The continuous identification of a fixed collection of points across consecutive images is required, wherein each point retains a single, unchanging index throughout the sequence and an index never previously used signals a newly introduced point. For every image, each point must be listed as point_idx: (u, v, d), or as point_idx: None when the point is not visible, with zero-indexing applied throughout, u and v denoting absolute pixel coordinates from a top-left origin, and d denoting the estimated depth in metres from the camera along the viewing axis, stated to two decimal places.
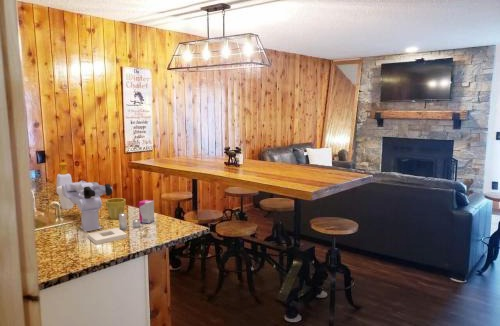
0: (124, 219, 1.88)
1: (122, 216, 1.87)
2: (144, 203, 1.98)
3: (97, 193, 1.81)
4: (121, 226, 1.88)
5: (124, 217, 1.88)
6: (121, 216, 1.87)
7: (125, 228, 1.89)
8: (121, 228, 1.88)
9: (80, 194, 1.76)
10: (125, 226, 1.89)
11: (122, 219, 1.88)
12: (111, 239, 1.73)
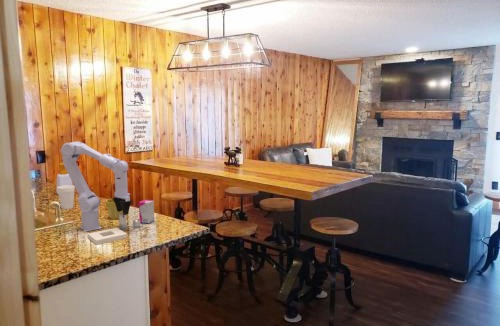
0: (124, 219, 1.88)
1: (122, 216, 1.87)
2: (144, 203, 1.98)
3: None
4: (121, 226, 1.88)
5: (124, 217, 1.88)
6: (121, 216, 1.87)
7: (125, 228, 1.89)
8: (121, 228, 1.88)
9: (126, 198, 1.82)
10: (125, 226, 1.89)
11: (122, 219, 1.88)
12: (111, 239, 1.73)
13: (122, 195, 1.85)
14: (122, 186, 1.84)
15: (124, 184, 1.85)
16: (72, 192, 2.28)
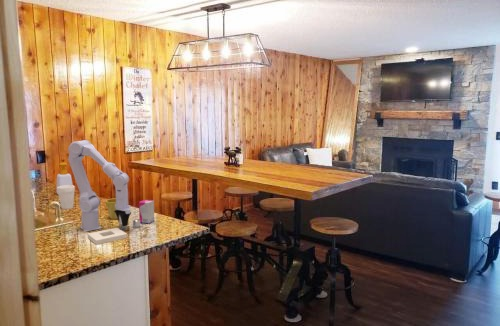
0: None
1: None
2: (144, 203, 1.98)
3: None
4: (121, 226, 1.88)
5: None
6: None
7: (125, 228, 1.89)
8: (121, 228, 1.88)
9: (127, 211, 1.83)
10: (125, 226, 1.89)
11: None
12: (111, 239, 1.73)
13: (123, 207, 1.86)
14: (123, 198, 1.85)
15: (125, 196, 1.86)
16: (72, 192, 2.28)
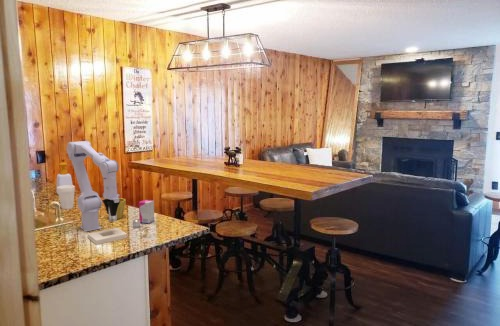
0: None
1: None
2: (144, 203, 1.98)
3: None
4: (111, 217, 1.79)
5: None
6: None
7: (115, 219, 1.80)
8: (111, 219, 1.79)
9: (115, 200, 1.73)
10: (115, 217, 1.80)
11: None
12: (111, 239, 1.73)
13: (111, 196, 1.76)
14: (111, 187, 1.76)
15: (110, 185, 1.76)
16: (72, 192, 2.28)
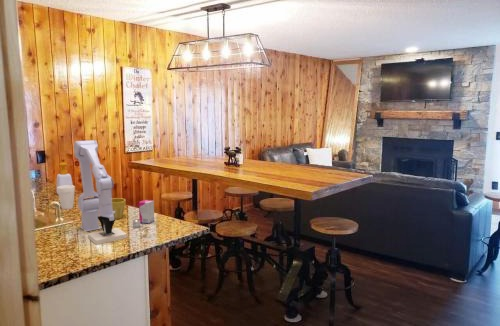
0: None
1: None
2: (144, 203, 1.98)
3: None
4: (106, 234, 1.76)
5: None
6: None
7: None
8: None
9: (110, 217, 1.71)
10: (111, 234, 1.77)
11: None
12: (111, 239, 1.73)
13: (106, 214, 1.74)
14: (106, 204, 1.73)
15: (104, 202, 1.73)
16: (72, 192, 2.28)
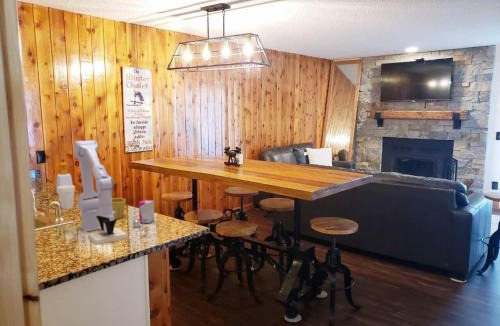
0: None
1: None
2: (144, 203, 1.98)
3: None
4: (106, 234, 1.76)
5: None
6: None
7: None
8: None
9: (110, 218, 1.71)
10: (111, 234, 1.77)
11: None
12: (111, 239, 1.73)
13: (106, 214, 1.74)
14: (106, 204, 1.73)
15: (104, 203, 1.73)
16: (72, 192, 2.28)
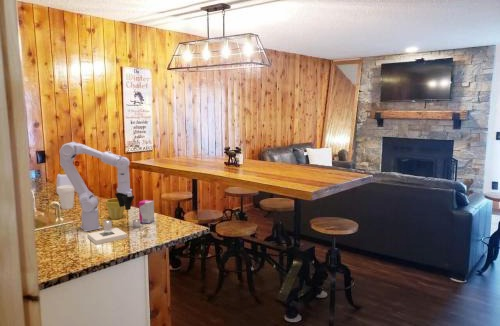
0: (110, 226, 1.77)
1: (107, 223, 1.76)
2: (144, 203, 1.98)
3: None
4: (106, 234, 1.76)
5: (110, 224, 1.77)
6: (106, 223, 1.76)
7: None
8: None
9: (128, 194, 1.85)
10: (111, 234, 1.77)
11: (107, 226, 1.76)
12: (111, 239, 1.73)
13: (124, 190, 1.89)
14: (124, 182, 1.88)
15: (127, 179, 1.89)
16: (72, 192, 2.28)
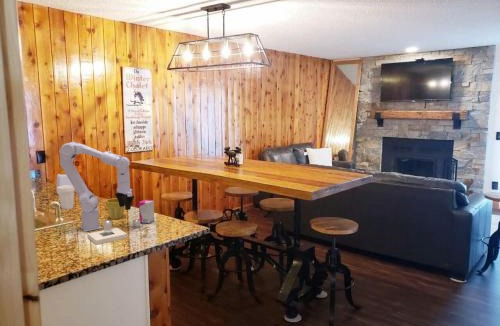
0: (110, 226, 1.77)
1: (107, 223, 1.76)
2: (144, 203, 1.98)
3: None
4: (106, 234, 1.76)
5: (110, 224, 1.77)
6: (106, 223, 1.76)
7: None
8: None
9: (128, 194, 1.85)
10: (111, 234, 1.77)
11: (107, 226, 1.76)
12: (111, 239, 1.73)
13: (124, 190, 1.89)
14: (124, 182, 1.88)
15: (127, 179, 1.89)
16: (72, 192, 2.28)
